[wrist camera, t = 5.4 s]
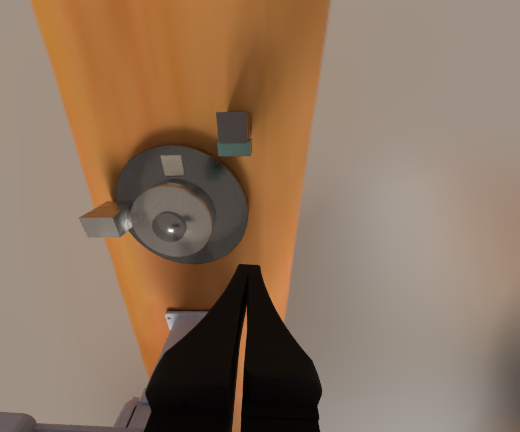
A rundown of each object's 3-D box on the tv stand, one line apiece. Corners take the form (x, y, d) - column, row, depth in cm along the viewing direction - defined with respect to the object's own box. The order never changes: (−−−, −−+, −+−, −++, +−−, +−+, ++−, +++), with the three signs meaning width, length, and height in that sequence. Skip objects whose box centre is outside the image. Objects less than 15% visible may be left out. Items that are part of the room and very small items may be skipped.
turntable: (250, 258, 24) (248, 282, 21) (129, 259, 25) (108, 282, 21) (245, 143, 18) (240, 150, 15) (86, 145, 19) (48, 153, 15)
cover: (219, 242, 22) (212, 261, 19) (154, 241, 22) (138, 260, 20) (212, 179, 19) (203, 190, 16) (137, 178, 19) (115, 189, 16)
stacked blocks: (253, 146, 19) (250, 156, 15) (227, 147, 19) (218, 156, 15) (252, 111, 18) (248, 111, 14) (224, 112, 18) (213, 112, 14)
